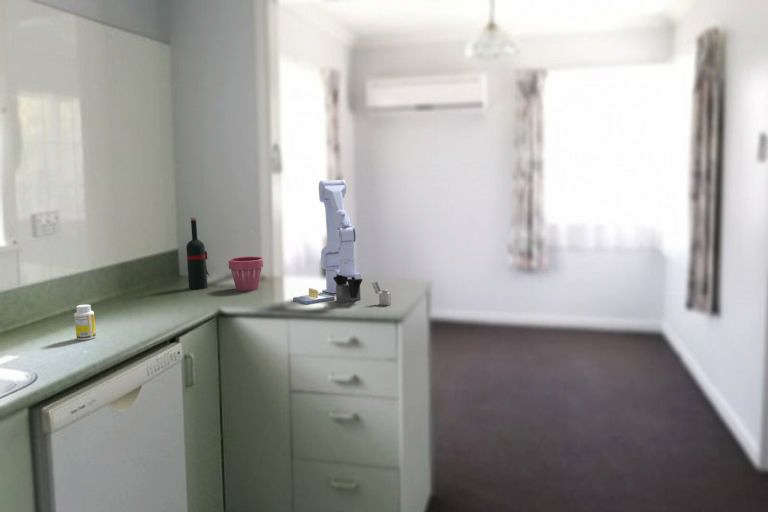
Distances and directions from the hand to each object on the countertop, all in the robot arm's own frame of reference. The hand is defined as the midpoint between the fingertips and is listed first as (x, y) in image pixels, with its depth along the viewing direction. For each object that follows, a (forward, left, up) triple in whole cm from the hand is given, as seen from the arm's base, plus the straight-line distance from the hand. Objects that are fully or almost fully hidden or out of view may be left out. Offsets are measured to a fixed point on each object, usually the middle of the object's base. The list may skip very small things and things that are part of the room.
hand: (348, 296), depth 261 cm
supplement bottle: (+90, -9, -2) cm, 90 cm away
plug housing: (0, 0, -2) cm, 2 cm away
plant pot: (+16, -52, -2) cm, 54 cm away
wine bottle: (+29, -71, -2) cm, 77 cm away
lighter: (-5, +14, -2) cm, 15 cm away
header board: (+9, -10, -2) cm, 14 cm away
